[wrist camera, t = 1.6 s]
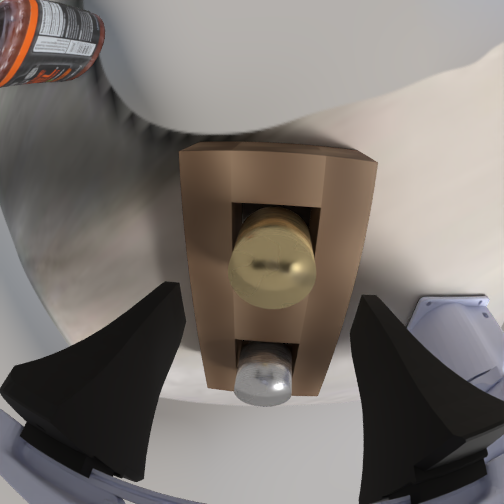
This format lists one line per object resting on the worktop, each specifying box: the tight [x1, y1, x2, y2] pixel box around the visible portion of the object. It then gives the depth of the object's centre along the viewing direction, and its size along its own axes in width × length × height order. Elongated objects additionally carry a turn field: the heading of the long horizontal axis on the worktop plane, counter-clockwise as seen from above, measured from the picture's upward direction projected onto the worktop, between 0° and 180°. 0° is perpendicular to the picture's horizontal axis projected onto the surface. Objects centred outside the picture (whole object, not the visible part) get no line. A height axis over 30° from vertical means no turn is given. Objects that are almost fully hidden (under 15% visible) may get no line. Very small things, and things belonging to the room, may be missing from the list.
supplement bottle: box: [0, 0, 105, 88], centre depth 8 cm, size 6×6×11 cm
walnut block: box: [179, 141, 378, 396], centre depth 19 cm, size 10×20×4 cm, turn 179°
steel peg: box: [234, 341, 292, 407], centre depth 19 cm, size 4×4×4 cm
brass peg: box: [228, 207, 316, 309], centre depth 14 cm, size 4×4×4 cm
